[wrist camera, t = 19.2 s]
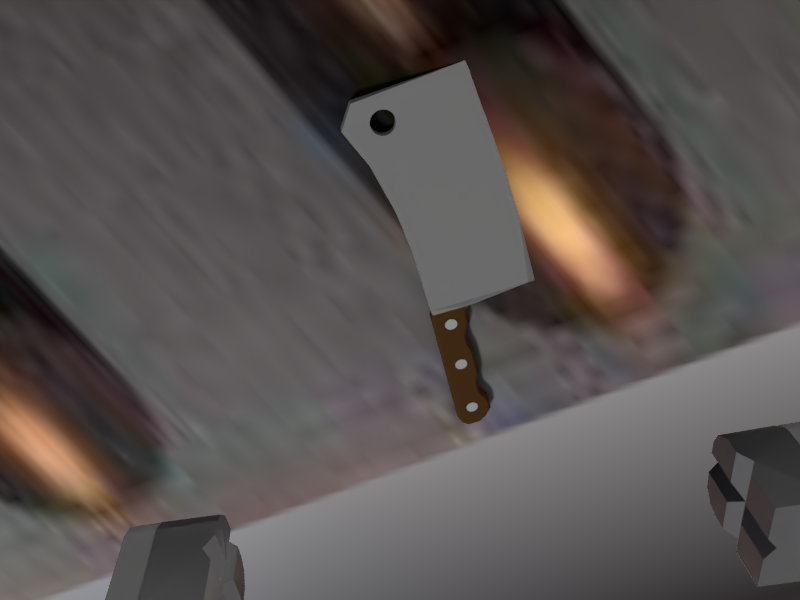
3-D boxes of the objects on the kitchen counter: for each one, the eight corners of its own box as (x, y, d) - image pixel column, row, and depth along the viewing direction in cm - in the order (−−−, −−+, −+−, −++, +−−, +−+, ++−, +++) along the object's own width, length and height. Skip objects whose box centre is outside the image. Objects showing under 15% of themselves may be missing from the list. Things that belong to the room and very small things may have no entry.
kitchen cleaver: (572, 396, 49) (433, 435, 49) (566, 386, 50) (430, 426, 50) (517, 41, 36) (330, 95, 36) (512, 37, 37) (329, 90, 37)
